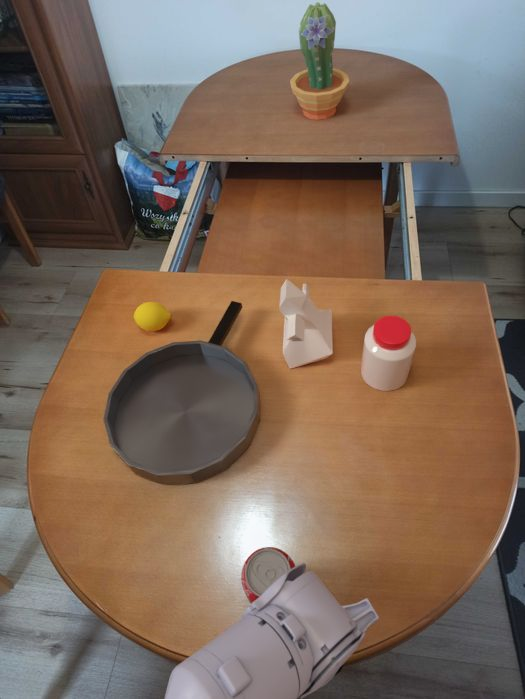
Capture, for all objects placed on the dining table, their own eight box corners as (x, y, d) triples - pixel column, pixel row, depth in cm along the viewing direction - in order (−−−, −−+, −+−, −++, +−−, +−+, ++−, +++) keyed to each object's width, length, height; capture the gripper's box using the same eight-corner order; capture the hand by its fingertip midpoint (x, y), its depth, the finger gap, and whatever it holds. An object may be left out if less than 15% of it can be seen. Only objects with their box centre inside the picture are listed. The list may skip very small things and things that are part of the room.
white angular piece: (331, 311, 91) (333, 255, 80) (332, 375, 82) (334, 322, 71) (285, 311, 92) (281, 256, 81) (281, 374, 83) (276, 322, 72)
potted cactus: (279, 116, 134) (272, 10, 114) (313, 91, 141) (312, -13, 121) (325, 132, 127) (327, 23, 108) (359, 105, 134) (367, -2, 114)
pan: (222, 507, 70) (218, 498, 67) (83, 455, 77) (74, 444, 74) (300, 330, 89) (299, 317, 86) (182, 301, 95) (178, 287, 92)
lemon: (134, 337, 91) (125, 317, 87) (140, 314, 94) (132, 295, 90) (171, 337, 90) (164, 317, 86) (176, 314, 94) (170, 295, 89)
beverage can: (308, 586, 63) (307, 562, 54) (283, 633, 60) (277, 617, 51) (267, 559, 66) (259, 532, 56) (241, 604, 63) (228, 583, 53)
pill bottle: (356, 385, 81) (361, 344, 72) (364, 348, 85) (370, 306, 76) (404, 395, 79) (416, 354, 70) (411, 357, 83) (422, 314, 74)
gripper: (352, 556, 46) (345, 588, 57) (210, 641, 43) (231, 657, 54) (399, 633, 42) (382, 651, 53) (246, 732, 39) (261, 730, 50)
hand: (308, 659), depth 53 cm, fingers closed
